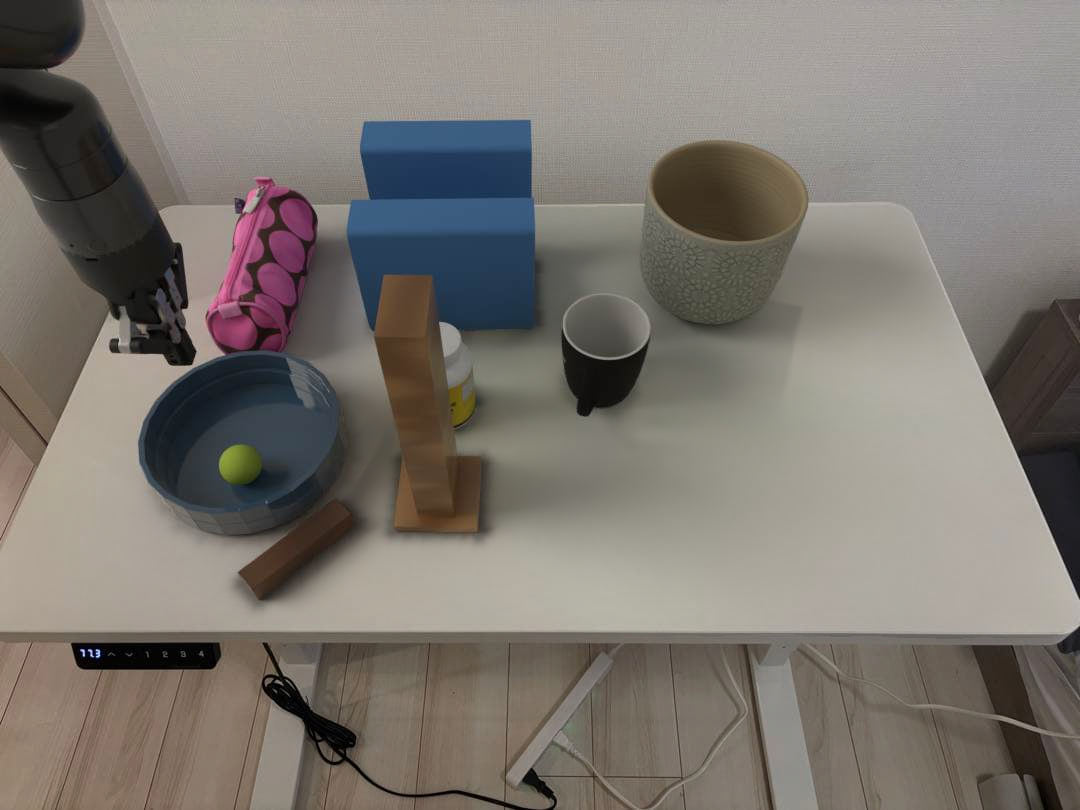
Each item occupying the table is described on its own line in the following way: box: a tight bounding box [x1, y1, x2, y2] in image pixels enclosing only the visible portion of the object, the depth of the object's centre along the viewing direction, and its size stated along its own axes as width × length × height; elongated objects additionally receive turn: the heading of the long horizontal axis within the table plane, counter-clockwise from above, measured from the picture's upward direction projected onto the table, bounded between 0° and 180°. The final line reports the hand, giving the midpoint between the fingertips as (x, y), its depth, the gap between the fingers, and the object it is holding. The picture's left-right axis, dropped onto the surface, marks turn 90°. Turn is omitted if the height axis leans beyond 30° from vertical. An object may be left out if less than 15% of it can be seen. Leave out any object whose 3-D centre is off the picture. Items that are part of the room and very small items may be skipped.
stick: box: [237, 497, 356, 601], centre depth 75 cm, size 11×2×2 cm, turn 135°
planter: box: [639, 139, 809, 325], centre depth 90 cm, size 17×17×15 cm
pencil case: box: [204, 176, 319, 356], centre depth 91 cm, size 21×10×10 cm, turn 2°
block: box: [346, 119, 536, 332], centre depth 88 cm, size 18×18×18 cm
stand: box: [373, 275, 483, 533], centre depth 68 cm, size 8×8×28 cm
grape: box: [219, 445, 262, 485], centre depth 78 cm, size 4×4×4 cm
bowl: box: [137, 350, 349, 536], centre depth 80 cm, size 19×19×5 cm
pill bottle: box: [439, 322, 477, 431], centre depth 81 cm, size 6×6×12 cm
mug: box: [560, 292, 652, 418], centre depth 83 cm, size 12×9×10 cm
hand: (184, 359), depth 74 cm, fingers closed
